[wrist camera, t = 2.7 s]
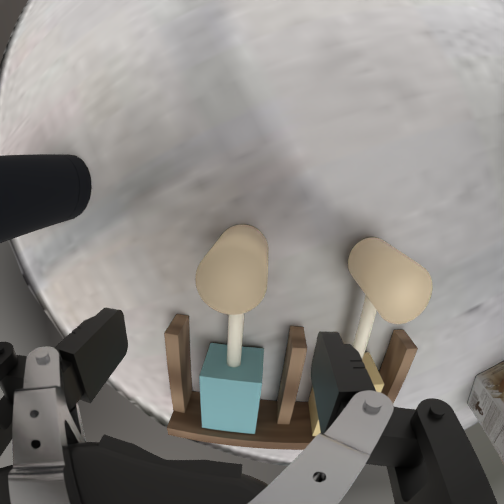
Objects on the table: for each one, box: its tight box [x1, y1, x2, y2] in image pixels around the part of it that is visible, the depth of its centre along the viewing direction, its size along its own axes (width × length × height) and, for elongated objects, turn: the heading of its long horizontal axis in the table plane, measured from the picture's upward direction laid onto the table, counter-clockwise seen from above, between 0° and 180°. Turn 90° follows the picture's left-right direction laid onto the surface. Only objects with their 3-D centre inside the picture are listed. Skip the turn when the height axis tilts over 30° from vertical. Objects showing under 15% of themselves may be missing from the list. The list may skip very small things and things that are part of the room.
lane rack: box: [164, 314, 418, 450], centre depth 24 cm, size 11×22×6 cm, turn 86°
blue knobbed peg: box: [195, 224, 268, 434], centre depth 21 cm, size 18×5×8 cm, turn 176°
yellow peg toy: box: [308, 237, 432, 436], centre depth 21 cm, size 18×5×8 cm, turn 176°
